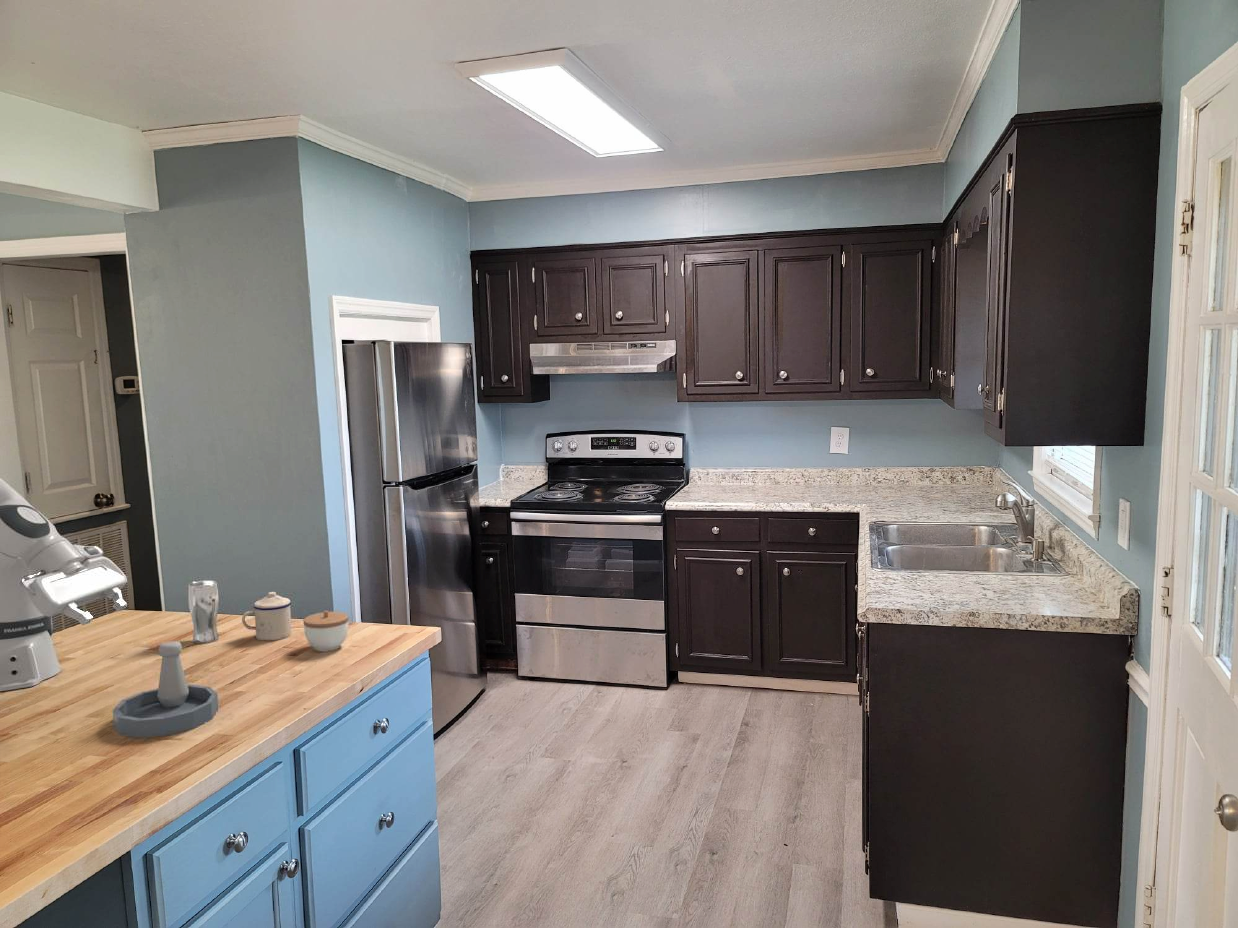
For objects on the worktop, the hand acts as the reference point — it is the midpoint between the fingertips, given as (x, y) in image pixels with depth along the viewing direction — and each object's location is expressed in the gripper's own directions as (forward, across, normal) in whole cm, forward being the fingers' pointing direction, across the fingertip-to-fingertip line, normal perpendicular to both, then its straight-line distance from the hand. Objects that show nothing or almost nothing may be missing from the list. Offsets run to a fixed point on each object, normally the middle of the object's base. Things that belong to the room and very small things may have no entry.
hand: (106, 615), depth 171 cm
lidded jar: (+31, +46, -1) cm, 55 cm away
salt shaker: (+21, +4, +7) cm, 23 cm away
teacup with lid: (+17, +52, +13) cm, 56 cm away
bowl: (+23, 0, +6) cm, 24 cm away
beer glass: (+7, +47, +23) cm, 52 cm away
